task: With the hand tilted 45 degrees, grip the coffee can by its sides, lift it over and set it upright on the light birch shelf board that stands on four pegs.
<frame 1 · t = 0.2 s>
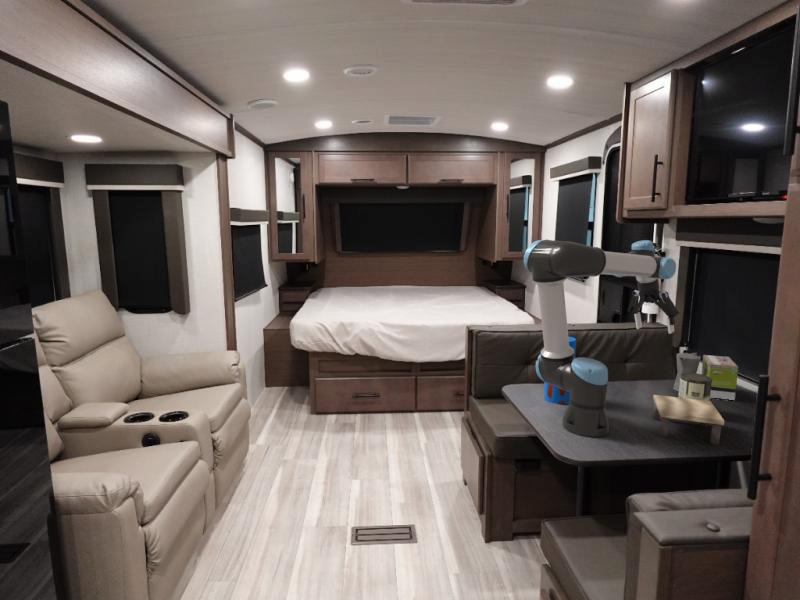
hand: (655, 330, 199), 28 cm above the table, tool tilted 15°, fingers open, 13 cm apart
tea box: (716, 394, 207), on the table
coffeepot: (685, 390, 212), on the table
thermos: (557, 399, 199), on the table
coffee can: (691, 413, 187), on the table
peg shelf: (683, 430, 171), on the table
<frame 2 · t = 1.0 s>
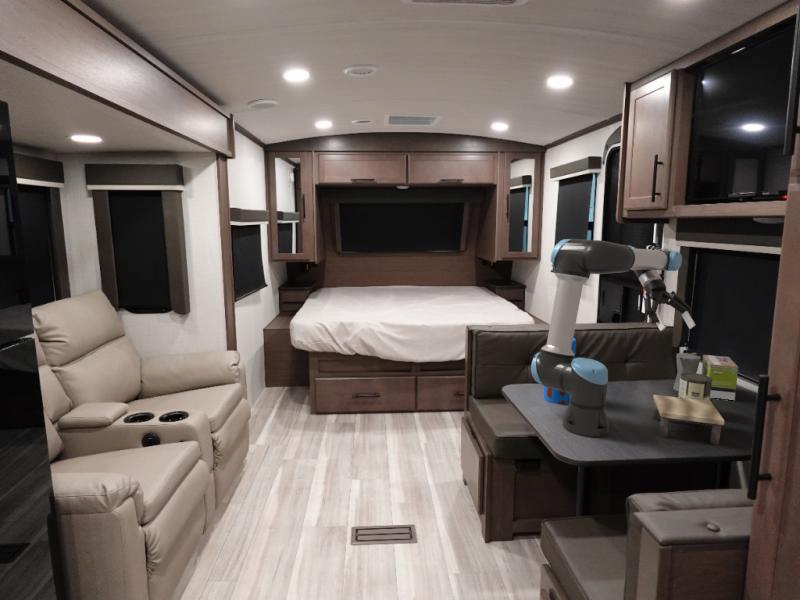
hand: (678, 328, 191), 30 cm above the table, tool tilted 45°, fingers open, 13 cm apart
nothing on the table moved.
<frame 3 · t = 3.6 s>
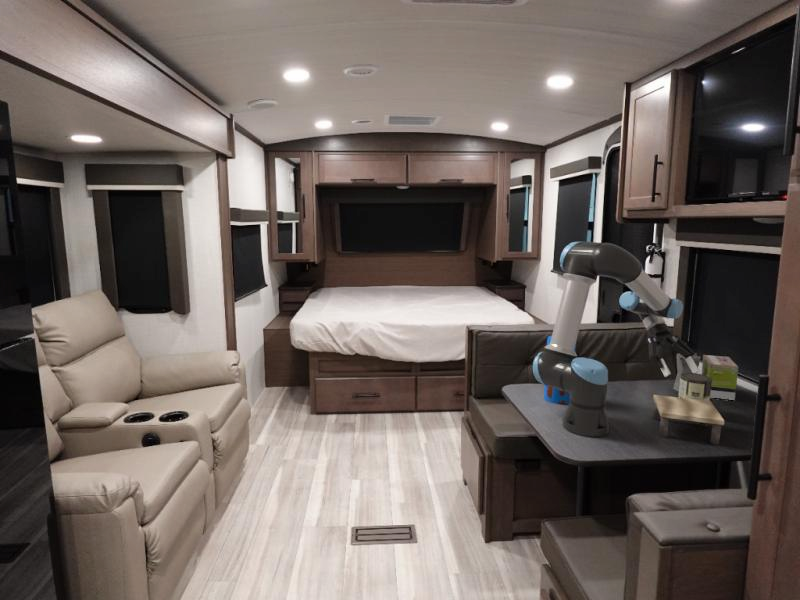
hand: (682, 374, 191), 13 cm above the table, tool tilted 45°, fingers open, 13 cm apart
nothing on the table moved.
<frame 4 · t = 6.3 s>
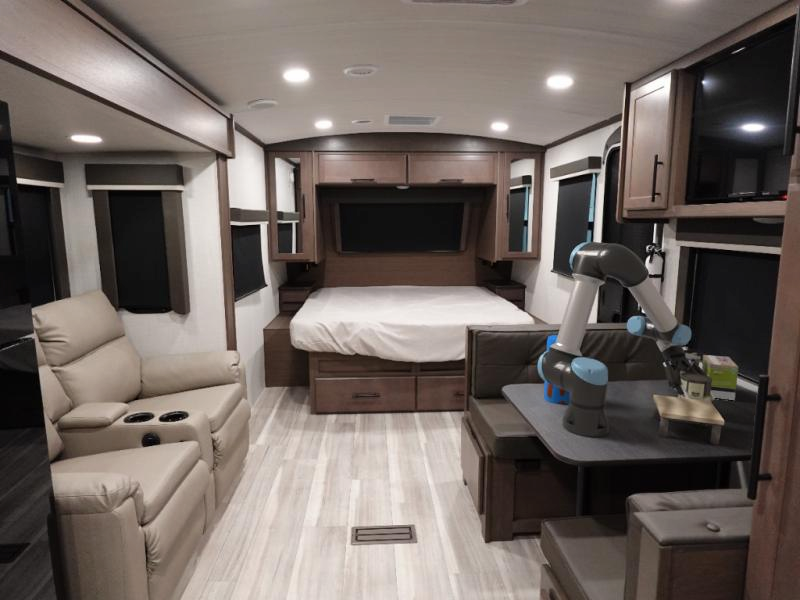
hand: (700, 401, 183), 6 cm above the table, tool tilted 45°, fingers closed on coffee can, 10 cm apart
thermos: (557, 399, 199), on the table, touching arm
coffee can: (691, 413, 187), on the table, touching gripper
everything else where it was.
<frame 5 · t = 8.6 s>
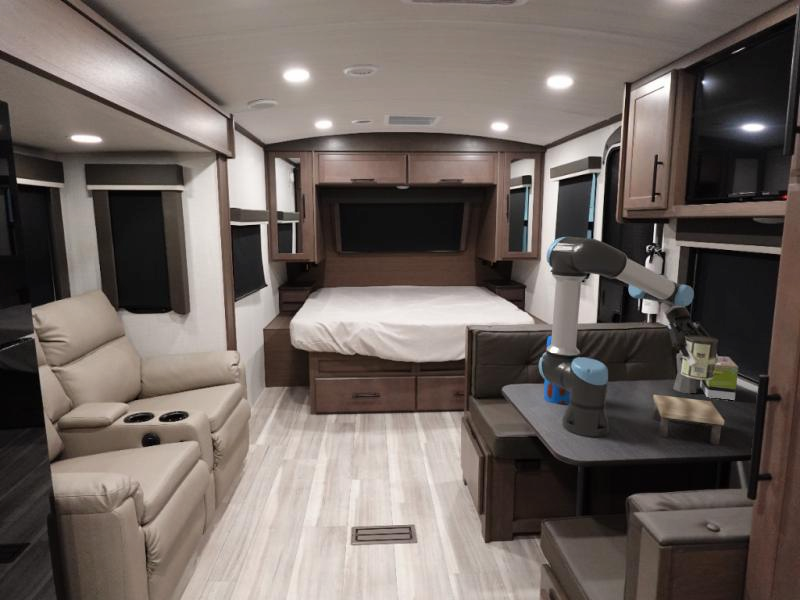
hand: (705, 363, 177), 21 cm above the table, tool tilted 45°, fingers closed on coffee can, 10 cm apart
thermos: (557, 399, 199), on the table
coffee can: (696, 376, 181), point 15 cm above the table, touching gripper
everything else where it was.
when the fingers open (15 cm above the table, at t = 11.1 s): coffee can drops 1 cm, resting on peg shelf.
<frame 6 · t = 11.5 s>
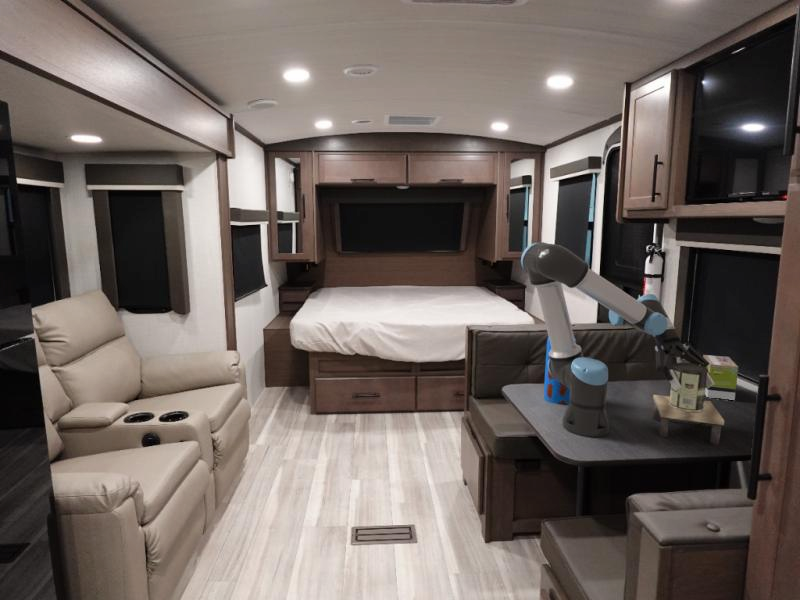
hand: (694, 387, 166), 16 cm above the table, tool tilted 45°, fingers open, 13 cm apart
coffee can: (685, 407, 169), point 8 cm above the table, touching peg shelf
everything else where it was.
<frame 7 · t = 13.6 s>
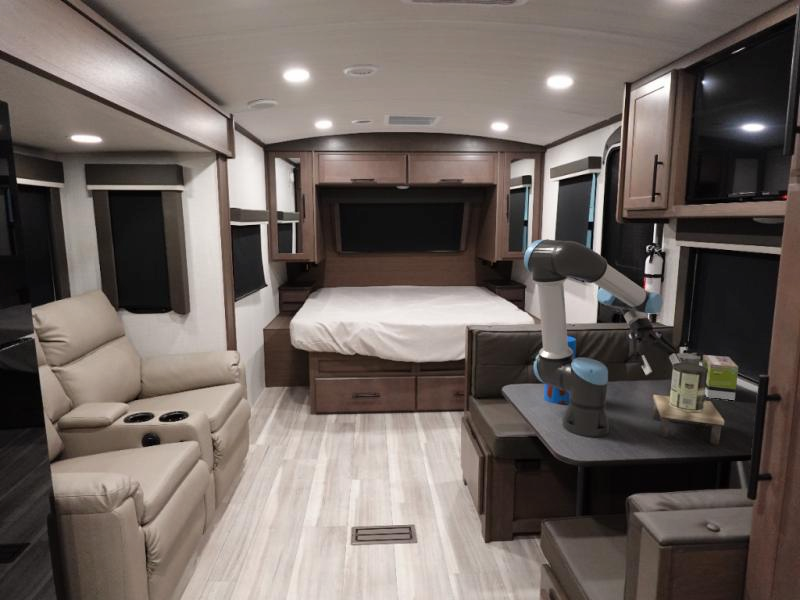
hand: (664, 372, 178), 17 cm above the table, tool tilted 45°, fingers open, 13 cm apart
nothing on the table moved.
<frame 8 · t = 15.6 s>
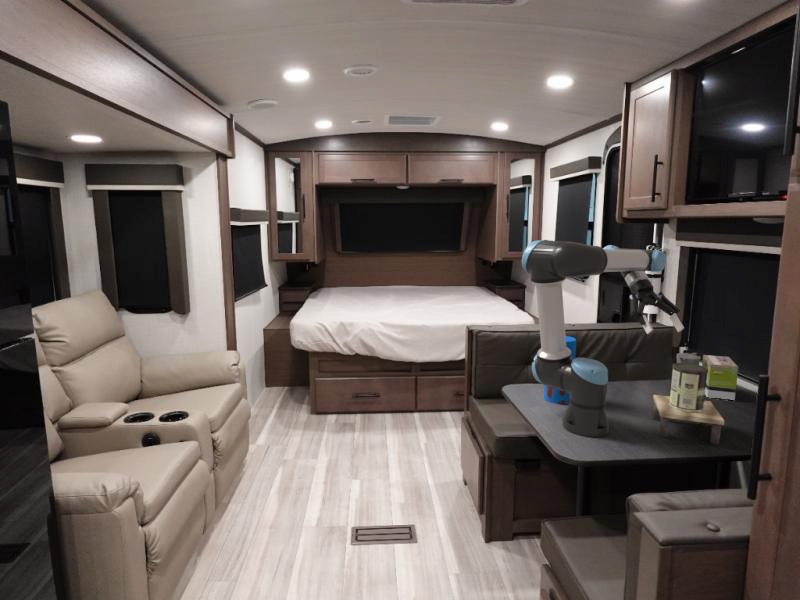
hand: (665, 331, 179), 32 cm above the table, tool tilted 45°, fingers open, 13 cm apart
nothing on the table moved.
at the end: coffee can inside the target area on the peg shelf (0.3 cm from its centre), point 8.3 cm above the peg shelf's base; coffee can tilted 0°; the gripper is holding nothing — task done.
